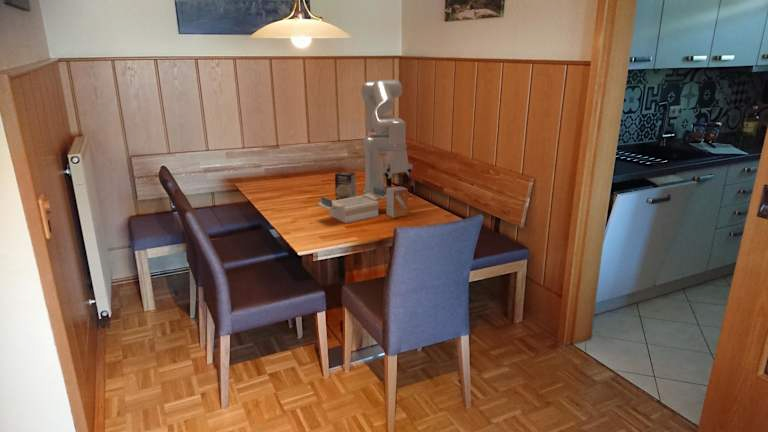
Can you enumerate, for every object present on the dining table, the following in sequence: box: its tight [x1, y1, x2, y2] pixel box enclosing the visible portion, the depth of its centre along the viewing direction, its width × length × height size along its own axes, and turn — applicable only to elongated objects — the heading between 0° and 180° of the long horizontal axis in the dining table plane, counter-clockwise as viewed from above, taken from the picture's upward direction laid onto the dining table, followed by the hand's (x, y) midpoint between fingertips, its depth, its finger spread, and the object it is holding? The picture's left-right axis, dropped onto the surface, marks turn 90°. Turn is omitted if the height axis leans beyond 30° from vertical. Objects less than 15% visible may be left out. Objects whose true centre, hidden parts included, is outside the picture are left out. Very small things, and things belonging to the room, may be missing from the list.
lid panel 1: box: [315, 196, 345, 211], centre depth 231 cm, size 9×11×4 cm
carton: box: [329, 195, 379, 224], centre depth 240 cm, size 18×14×7 cm
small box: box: [385, 185, 409, 219], centre depth 240 cm, size 8×6×13 cm
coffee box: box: [334, 171, 357, 201], centre depth 259 cm, size 9×6×16 cm
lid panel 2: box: [361, 187, 387, 201], centre depth 245 cm, size 9×11×4 cm
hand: (397, 184), depth 237 cm, fingers open, 9 cm apart
